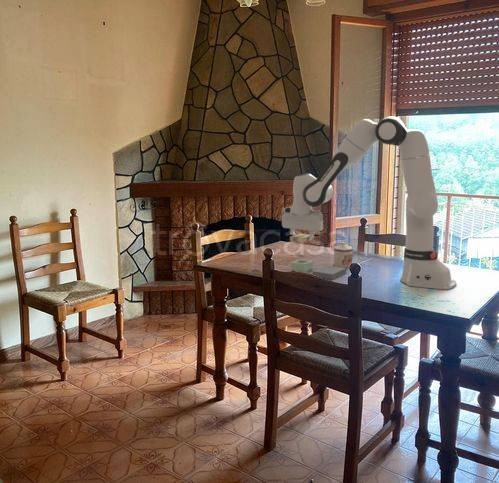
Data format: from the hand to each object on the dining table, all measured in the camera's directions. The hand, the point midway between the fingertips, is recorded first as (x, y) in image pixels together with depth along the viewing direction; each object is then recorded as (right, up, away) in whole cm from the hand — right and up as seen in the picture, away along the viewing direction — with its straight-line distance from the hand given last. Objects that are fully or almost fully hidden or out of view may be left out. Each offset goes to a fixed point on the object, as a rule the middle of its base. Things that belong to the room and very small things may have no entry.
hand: (302, 239), depth 240 cm
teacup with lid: (+22, -13, +12) cm, 28 cm away
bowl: (0, -15, +3) cm, 15 cm away
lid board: (0, -1, 0) cm, 0 cm away
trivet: (+12, -16, -5) cm, 21 cm away
